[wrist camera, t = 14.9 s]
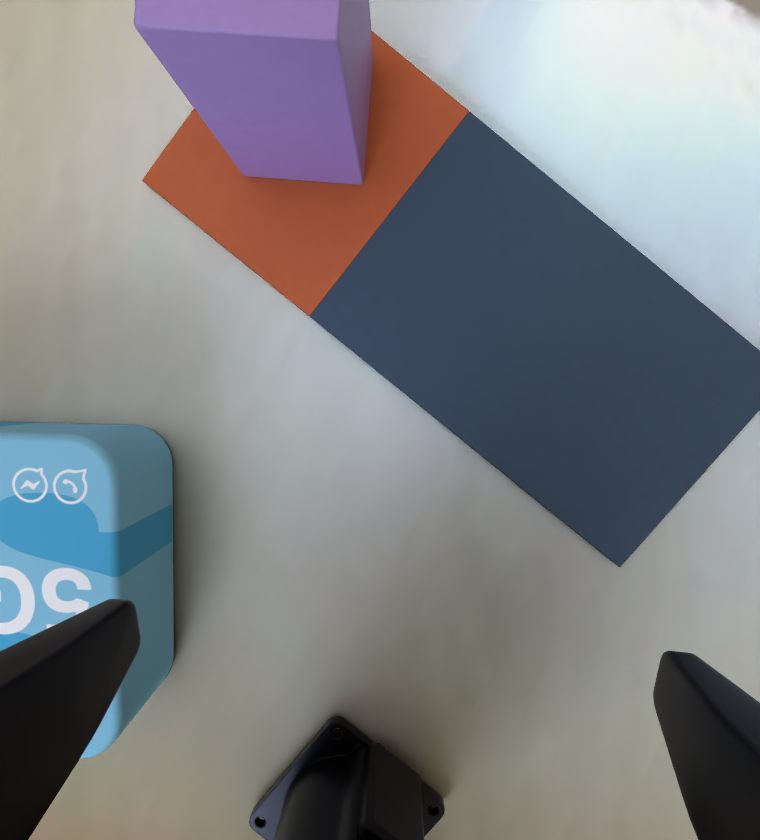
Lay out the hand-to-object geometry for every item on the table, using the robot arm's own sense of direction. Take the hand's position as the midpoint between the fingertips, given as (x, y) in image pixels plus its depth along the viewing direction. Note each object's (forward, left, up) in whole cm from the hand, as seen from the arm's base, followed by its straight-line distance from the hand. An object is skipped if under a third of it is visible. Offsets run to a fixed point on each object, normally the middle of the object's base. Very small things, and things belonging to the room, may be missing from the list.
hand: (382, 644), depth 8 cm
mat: (+9, +3, -13) cm, 16 cm away
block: (+10, +12, -13) cm, 20 cm away
